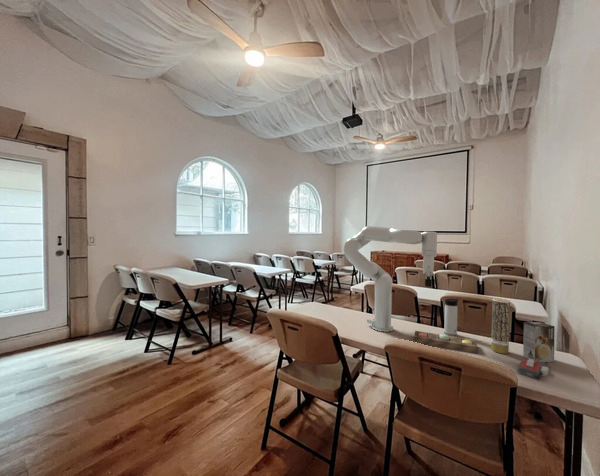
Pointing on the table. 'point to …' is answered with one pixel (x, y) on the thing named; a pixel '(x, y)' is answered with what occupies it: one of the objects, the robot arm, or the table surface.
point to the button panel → (446, 342)
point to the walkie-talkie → (533, 369)
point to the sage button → (444, 337)
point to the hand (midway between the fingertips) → (428, 286)
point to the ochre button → (466, 341)
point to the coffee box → (538, 341)
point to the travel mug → (450, 317)
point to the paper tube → (500, 325)
